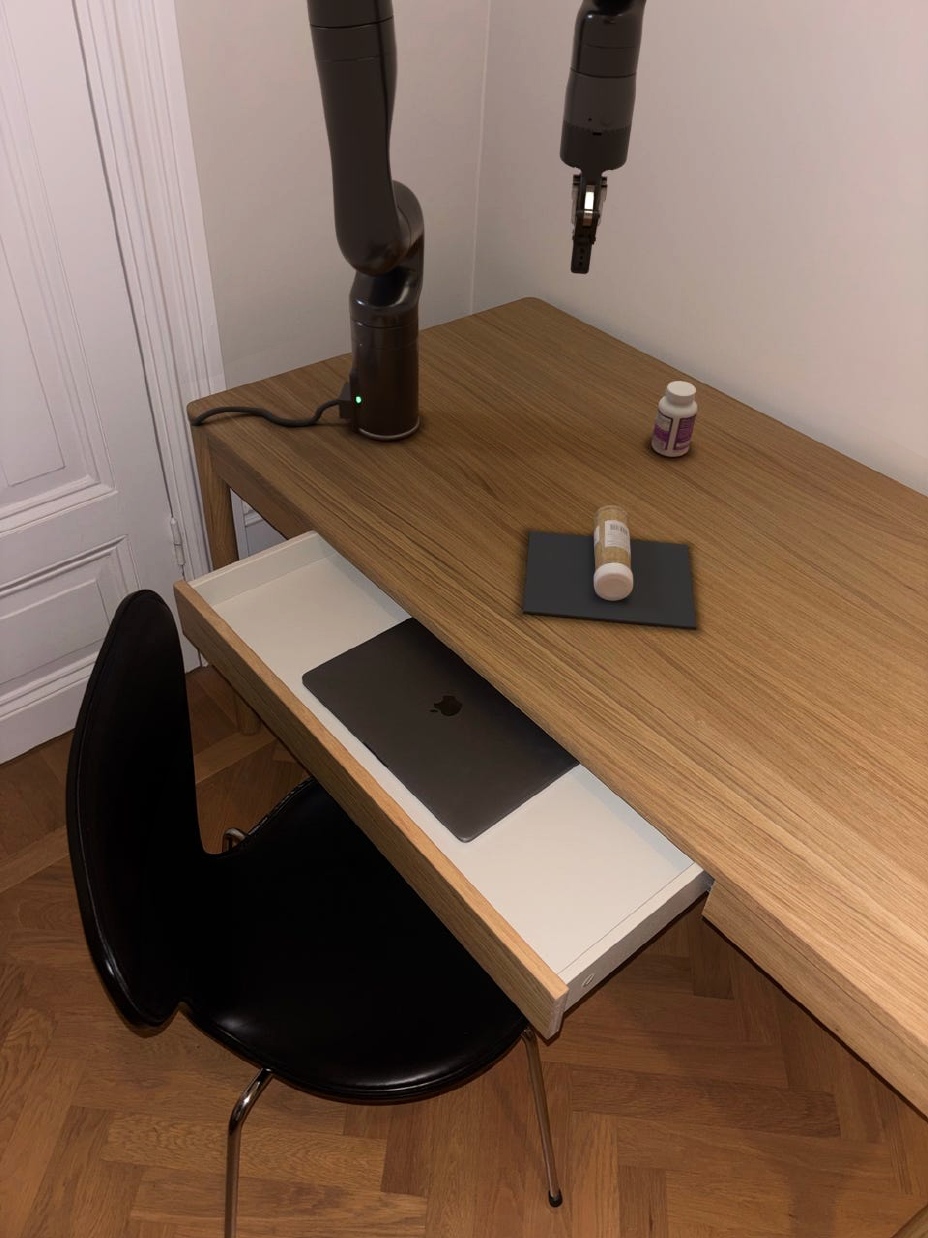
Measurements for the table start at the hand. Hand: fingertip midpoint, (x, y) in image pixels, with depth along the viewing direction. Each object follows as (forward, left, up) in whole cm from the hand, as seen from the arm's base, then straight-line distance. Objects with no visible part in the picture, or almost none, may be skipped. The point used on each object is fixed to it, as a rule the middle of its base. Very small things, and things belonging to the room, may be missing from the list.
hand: (579, 270), depth 115 cm
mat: (+7, -25, -27) cm, 37 cm away
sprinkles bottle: (+7, -16, -24) cm, 30 cm away
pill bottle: (+16, +5, -27) cm, 32 cm away
